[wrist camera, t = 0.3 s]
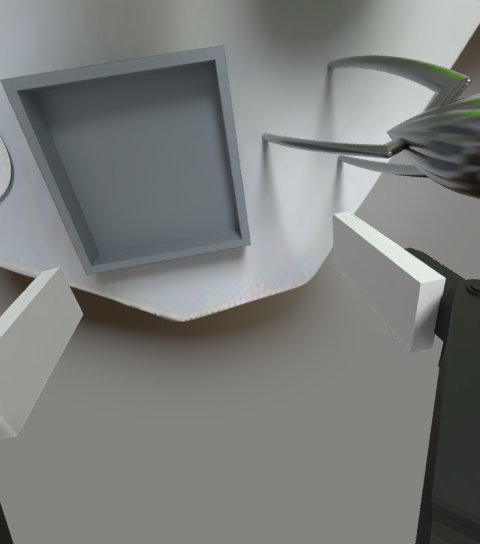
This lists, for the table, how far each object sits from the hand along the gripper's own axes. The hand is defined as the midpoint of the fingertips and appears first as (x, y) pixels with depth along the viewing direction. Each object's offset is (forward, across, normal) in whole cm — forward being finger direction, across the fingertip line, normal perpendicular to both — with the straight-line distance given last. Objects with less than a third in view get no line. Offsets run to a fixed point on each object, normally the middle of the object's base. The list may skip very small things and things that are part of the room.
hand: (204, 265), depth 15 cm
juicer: (+27, +13, +3) cm, 31 cm away
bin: (+27, -6, +1) cm, 28 cm away
